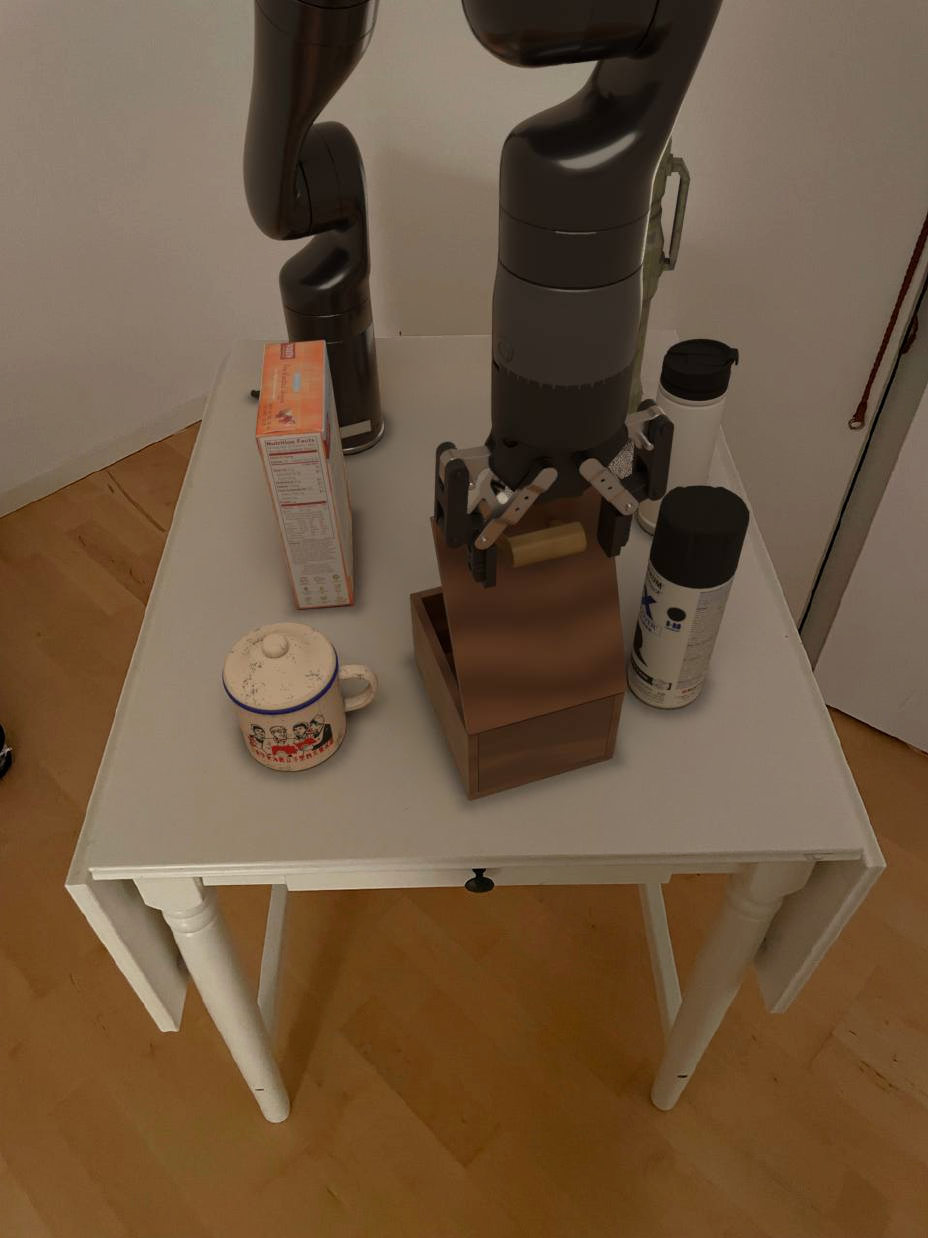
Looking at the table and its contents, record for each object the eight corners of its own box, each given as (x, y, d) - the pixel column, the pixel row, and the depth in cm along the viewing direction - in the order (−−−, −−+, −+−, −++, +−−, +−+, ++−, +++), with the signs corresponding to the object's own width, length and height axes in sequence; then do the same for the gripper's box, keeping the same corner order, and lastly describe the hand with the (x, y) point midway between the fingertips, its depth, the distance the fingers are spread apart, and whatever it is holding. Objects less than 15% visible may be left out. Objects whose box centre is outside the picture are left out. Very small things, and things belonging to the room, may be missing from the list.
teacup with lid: (242, 783, 75) (211, 695, 66) (243, 696, 81) (215, 605, 73) (388, 763, 76) (376, 674, 68) (378, 679, 82) (366, 587, 74)
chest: (415, 661, 84) (409, 593, 77) (543, 627, 86) (548, 559, 80) (469, 801, 73) (467, 737, 67) (612, 758, 76) (624, 692, 70)
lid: (429, 516, 61) (450, 536, 56) (603, 476, 63) (638, 492, 58) (466, 730, 67) (488, 765, 62) (623, 686, 70) (655, 717, 65)
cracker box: (297, 517, 97) (261, 340, 82) (353, 513, 98) (329, 336, 82) (292, 612, 88) (251, 432, 73) (355, 607, 88) (327, 427, 73)
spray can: (623, 652, 84) (652, 479, 69) (697, 653, 84) (743, 480, 69) (629, 710, 79) (663, 539, 65) (708, 711, 79) (759, 539, 64)
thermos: (547, 405, 111) (566, 85, 85) (646, 407, 110) (695, 86, 84) (547, 449, 105) (567, 119, 79) (651, 452, 104) (705, 120, 78)
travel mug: (699, 544, 94) (740, 372, 79) (634, 536, 95) (662, 365, 80) (701, 505, 98) (740, 335, 83) (639, 497, 99) (666, 328, 84)
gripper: (655, 282, 51) (622, 504, 63) (412, 327, 48) (425, 551, 60) (722, 351, 46) (672, 577, 58) (455, 405, 44) (460, 631, 56)
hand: (547, 563), depth 59 cm, fingers open, 8 cm apart
